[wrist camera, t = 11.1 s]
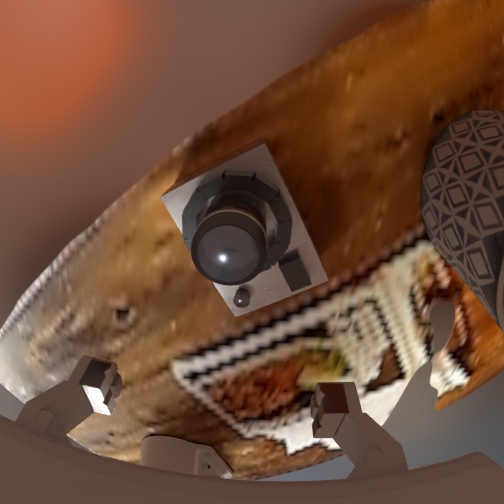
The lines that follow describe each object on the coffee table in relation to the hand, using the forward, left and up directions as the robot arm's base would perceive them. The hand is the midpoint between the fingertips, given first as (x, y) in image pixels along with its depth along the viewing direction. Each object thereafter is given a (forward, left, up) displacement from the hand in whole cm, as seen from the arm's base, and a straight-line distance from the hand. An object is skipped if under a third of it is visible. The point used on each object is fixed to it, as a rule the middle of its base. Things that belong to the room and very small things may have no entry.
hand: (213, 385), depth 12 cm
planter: (-9, -26, -23) cm, 35 cm away
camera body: (-2, 0, -23) cm, 23 cm away
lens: (+1, 0, -17) cm, 17 cm away
